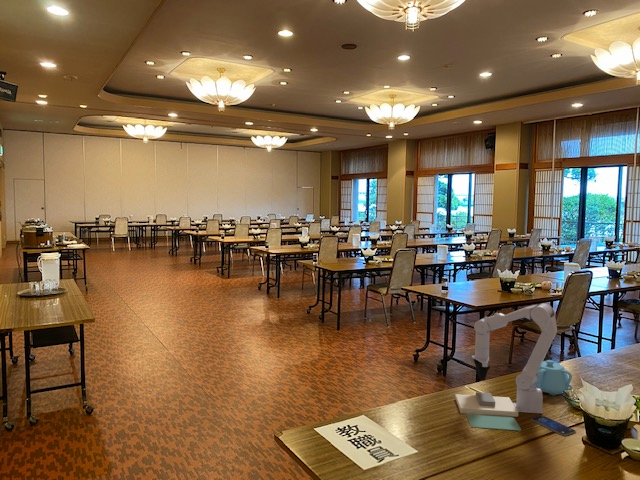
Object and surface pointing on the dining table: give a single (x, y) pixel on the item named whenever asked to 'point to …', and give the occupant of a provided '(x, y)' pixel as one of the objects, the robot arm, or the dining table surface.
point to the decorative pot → (553, 378)
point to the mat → (493, 422)
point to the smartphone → (553, 425)
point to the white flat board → (472, 406)
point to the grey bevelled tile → (485, 399)
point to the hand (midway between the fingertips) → (480, 377)
